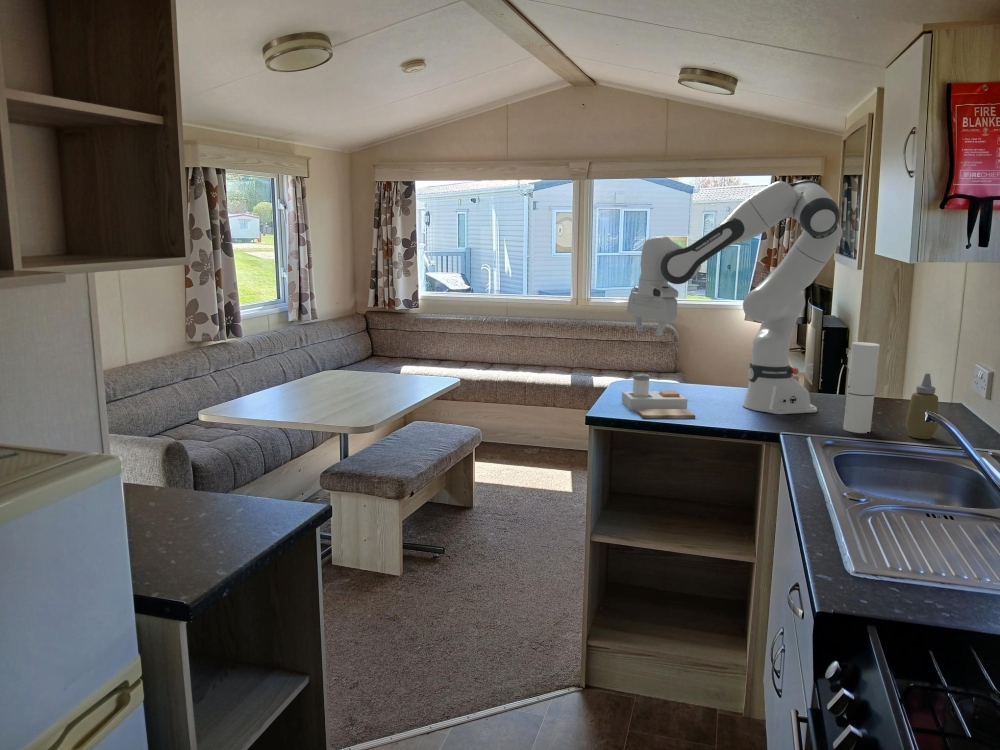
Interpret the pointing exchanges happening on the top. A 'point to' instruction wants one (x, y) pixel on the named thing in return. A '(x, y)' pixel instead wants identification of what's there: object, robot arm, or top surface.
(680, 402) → the block
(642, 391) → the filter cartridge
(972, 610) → the top surface
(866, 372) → the cylindrical container
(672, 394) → the orange brown block
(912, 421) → the squeeze bottle
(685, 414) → the cork pad
